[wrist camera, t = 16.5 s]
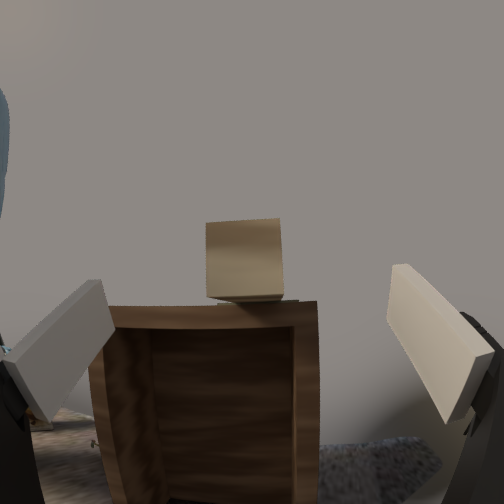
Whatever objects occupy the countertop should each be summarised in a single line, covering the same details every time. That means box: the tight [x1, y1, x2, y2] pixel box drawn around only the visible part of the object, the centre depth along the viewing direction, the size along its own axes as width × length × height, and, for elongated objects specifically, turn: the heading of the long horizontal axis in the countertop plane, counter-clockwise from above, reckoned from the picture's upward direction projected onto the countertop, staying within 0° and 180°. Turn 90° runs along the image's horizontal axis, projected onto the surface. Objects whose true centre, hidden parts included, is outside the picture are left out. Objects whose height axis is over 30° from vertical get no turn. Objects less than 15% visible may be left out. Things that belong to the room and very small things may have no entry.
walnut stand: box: [88, 300, 320, 504], centre depth 30 cm, size 14×22×30 cm, turn 86°
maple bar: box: [206, 218, 284, 303], centre depth 28 cm, size 24×4×4 cm, turn 176°
